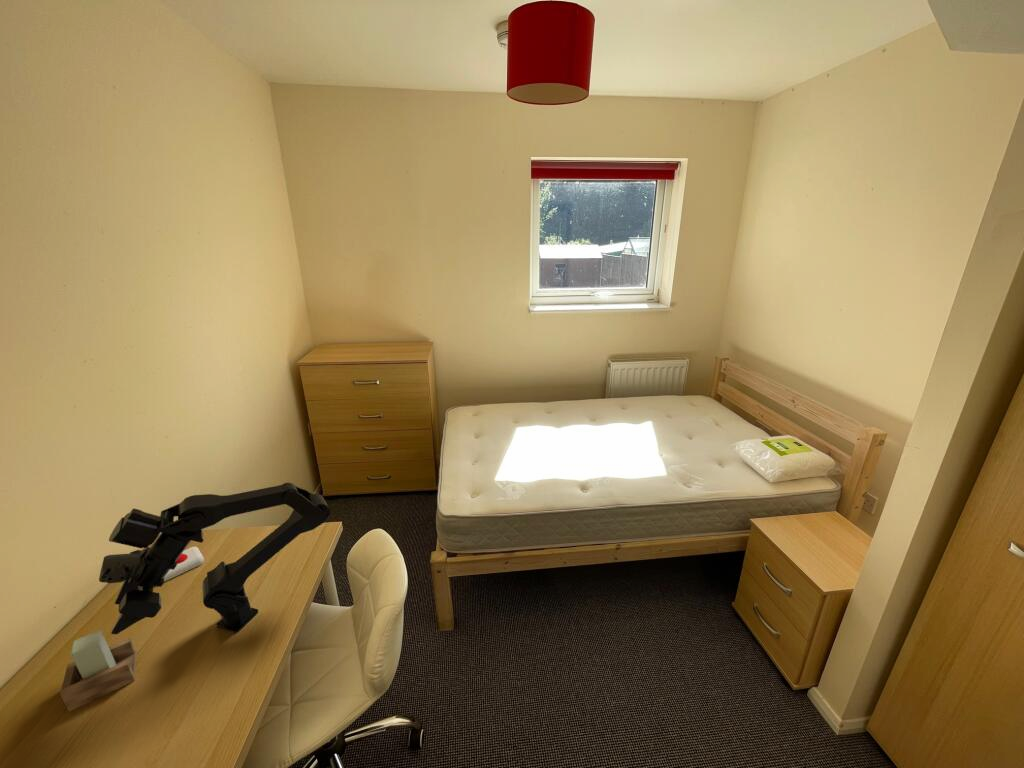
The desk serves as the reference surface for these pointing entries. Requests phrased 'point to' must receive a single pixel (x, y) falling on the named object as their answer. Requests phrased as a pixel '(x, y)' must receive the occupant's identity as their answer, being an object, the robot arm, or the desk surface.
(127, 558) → the robot arm
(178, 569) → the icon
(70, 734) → the desk surface
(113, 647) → the wooden channel cradle
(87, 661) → the clay bar
